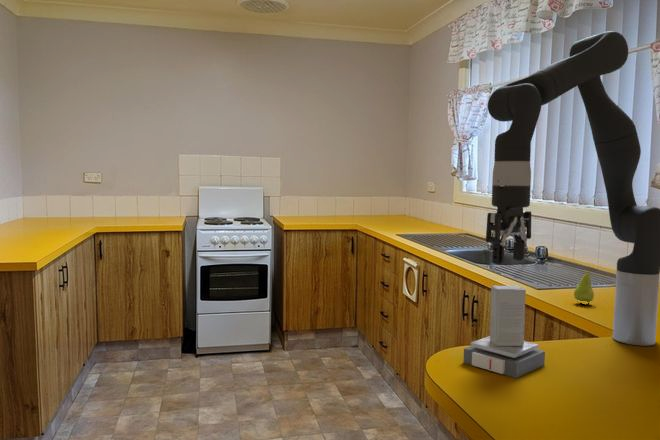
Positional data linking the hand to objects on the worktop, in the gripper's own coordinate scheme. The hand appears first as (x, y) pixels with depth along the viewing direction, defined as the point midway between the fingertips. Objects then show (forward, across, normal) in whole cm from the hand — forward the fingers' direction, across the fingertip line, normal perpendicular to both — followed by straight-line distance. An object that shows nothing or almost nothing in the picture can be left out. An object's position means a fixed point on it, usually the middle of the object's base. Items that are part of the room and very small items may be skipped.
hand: (508, 261), depth 113 cm
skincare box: (+18, 0, 0) cm, 18 cm away
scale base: (+22, 0, 0) cm, 22 cm away
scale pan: (+19, 0, 0) cm, 19 cm away
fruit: (+22, -73, -13) cm, 77 cm away
